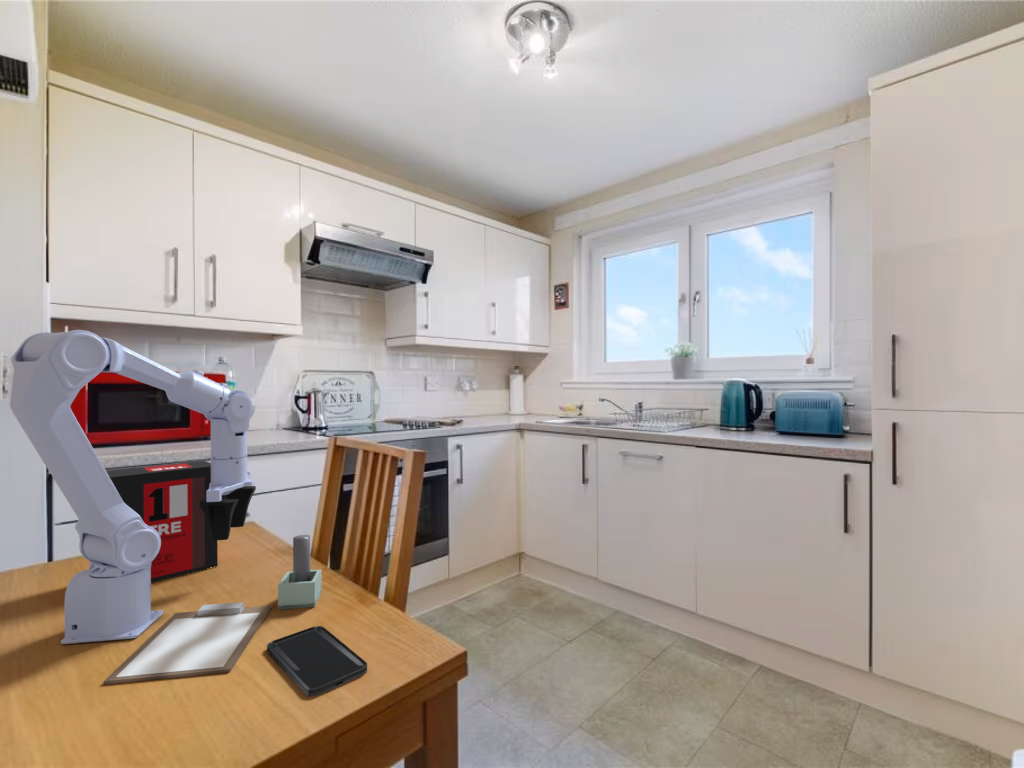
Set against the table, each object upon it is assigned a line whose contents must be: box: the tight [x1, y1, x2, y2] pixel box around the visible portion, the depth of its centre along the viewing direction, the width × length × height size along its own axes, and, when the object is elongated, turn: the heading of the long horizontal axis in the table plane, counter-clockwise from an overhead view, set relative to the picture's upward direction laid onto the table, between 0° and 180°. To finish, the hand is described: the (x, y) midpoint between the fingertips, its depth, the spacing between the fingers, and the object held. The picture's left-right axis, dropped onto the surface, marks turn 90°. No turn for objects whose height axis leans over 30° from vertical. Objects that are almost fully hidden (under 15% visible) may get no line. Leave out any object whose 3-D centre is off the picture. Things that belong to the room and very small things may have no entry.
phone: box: [266, 625, 368, 698], centre depth 66 cm, size 8×1×15 cm
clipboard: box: [103, 601, 272, 685], centre depth 70 cm, size 14×18×1 cm
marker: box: [292, 534, 311, 582], centre depth 83 cm, size 3×3×10 cm
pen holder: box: [277, 568, 323, 610], centre depth 83 cm, size 6×6×4 cm
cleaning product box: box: [105, 460, 219, 584], centre depth 95 cm, size 16×9×20 cm, turn 136°
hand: (229, 532), depth 89 cm, fingers open, 7 cm apart
